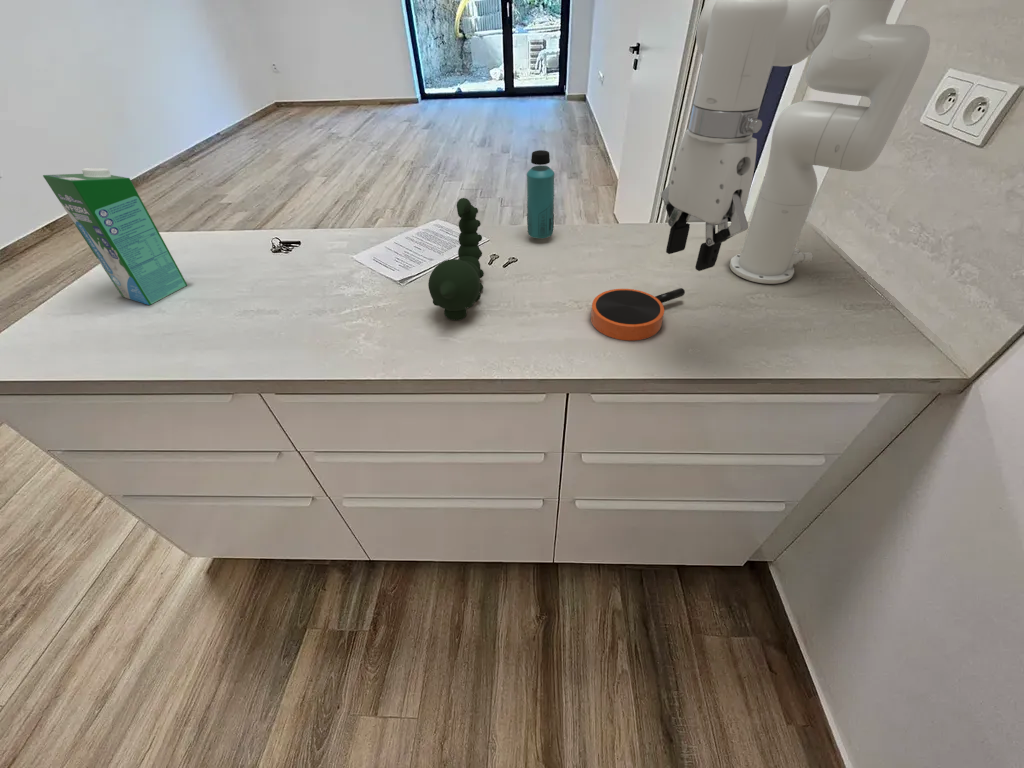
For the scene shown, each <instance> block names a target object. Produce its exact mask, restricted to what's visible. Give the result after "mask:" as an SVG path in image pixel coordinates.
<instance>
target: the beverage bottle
mask: <svg viewBox="0 0 1024 768" xmlns="http://www.w3.org/2000/svg"><path fill="white" fill-rule="evenodd" d="M550 157H551V156H550V151H548V150H545V149H544V150H543V149H540V150H534V151H532V152H531V158H530V163H531V164H533V165H534V166H532V167H531V168H529V170H528V171H527V173H526V195H527V196H526V212H527V213H526V224H527V225H526V226H527V231H526V232H527V234H528V236H529V237H531V238H534V239H546V238H549V237H551V236H552V235H553V234H554V229H555V228H554V227H555V171H554V170H553V169H552V168H551V167H550V166H547V165H548V164H550V162H551V158H550Z"/></svg>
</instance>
